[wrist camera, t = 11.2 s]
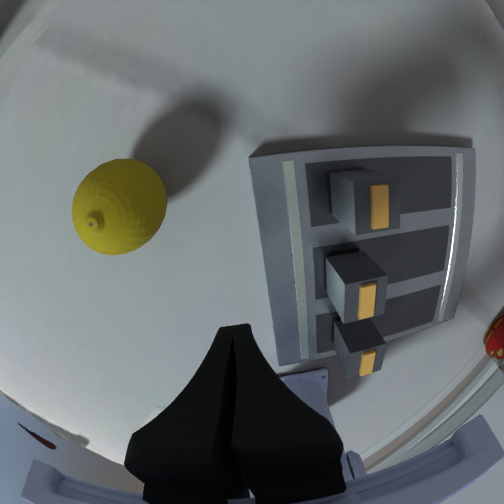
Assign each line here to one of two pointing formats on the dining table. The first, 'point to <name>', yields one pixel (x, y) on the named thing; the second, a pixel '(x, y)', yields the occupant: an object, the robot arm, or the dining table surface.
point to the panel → (362, 239)
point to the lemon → (119, 206)
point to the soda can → (496, 341)
